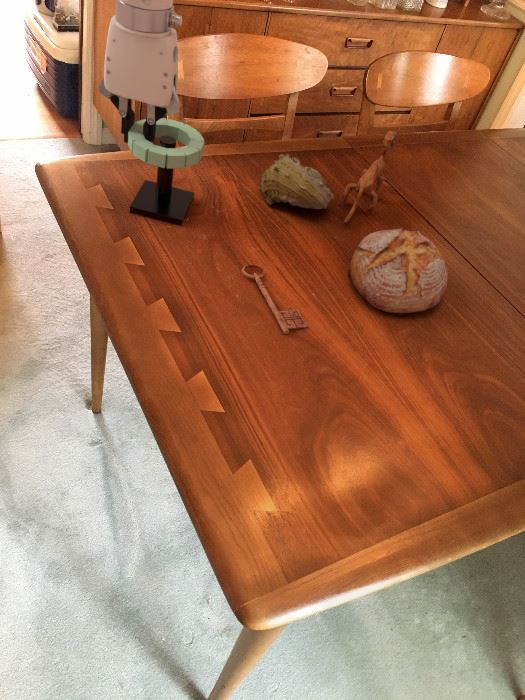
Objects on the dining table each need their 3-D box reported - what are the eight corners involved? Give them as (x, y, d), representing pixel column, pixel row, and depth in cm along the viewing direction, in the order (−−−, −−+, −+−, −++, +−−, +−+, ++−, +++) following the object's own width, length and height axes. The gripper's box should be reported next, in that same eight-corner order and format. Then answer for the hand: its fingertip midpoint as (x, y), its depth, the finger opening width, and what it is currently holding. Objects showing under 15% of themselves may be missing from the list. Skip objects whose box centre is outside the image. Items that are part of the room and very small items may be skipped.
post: (129, 212, 94) (131, 145, 85) (144, 185, 100) (148, 120, 91) (181, 225, 94) (189, 160, 85) (193, 198, 100) (201, 134, 91)
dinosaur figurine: (358, 235, 103) (385, 169, 93) (326, 220, 104) (350, 153, 94) (385, 194, 115) (411, 132, 105) (356, 182, 116) (380, 119, 106)
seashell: (320, 233, 103) (342, 187, 96) (247, 203, 102) (264, 154, 95) (327, 204, 111) (348, 159, 104) (260, 176, 110) (276, 129, 103)
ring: (118, 156, 85) (119, 142, 83) (141, 124, 93) (141, 111, 91) (192, 175, 85) (194, 162, 84) (208, 142, 93) (210, 129, 92)
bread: (331, 299, 91) (346, 249, 83) (365, 240, 104) (380, 192, 97) (428, 337, 87) (452, 288, 80) (449, 271, 101) (472, 224, 94)
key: (307, 332, 83) (269, 266, 92) (309, 327, 83) (271, 262, 91) (273, 335, 81) (238, 267, 89) (275, 331, 80) (239, 263, 88)
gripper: (206, 23, 79) (192, 144, 92) (95, -9, 78) (96, 118, 91) (194, 39, 73) (181, 165, 87) (75, 6, 73) (79, 138, 86)
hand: (138, 140), depth 89 cm, fingers closed on ring, 2 cm apart
